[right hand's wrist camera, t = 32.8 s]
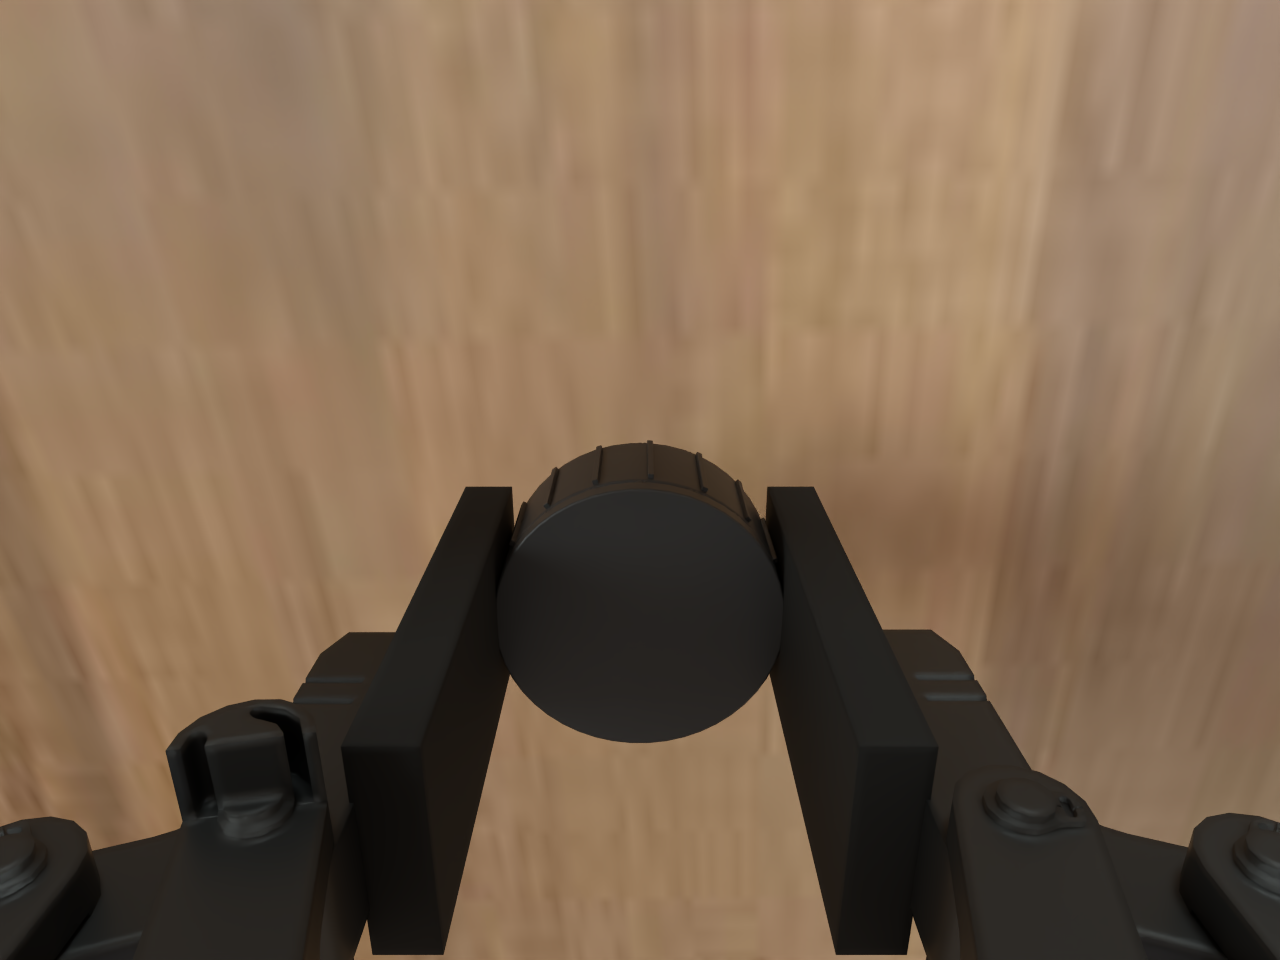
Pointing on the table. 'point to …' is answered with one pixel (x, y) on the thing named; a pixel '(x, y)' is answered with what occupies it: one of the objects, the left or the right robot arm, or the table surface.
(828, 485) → the table surface
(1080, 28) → the table surface
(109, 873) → the right robot arm
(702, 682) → the cap
